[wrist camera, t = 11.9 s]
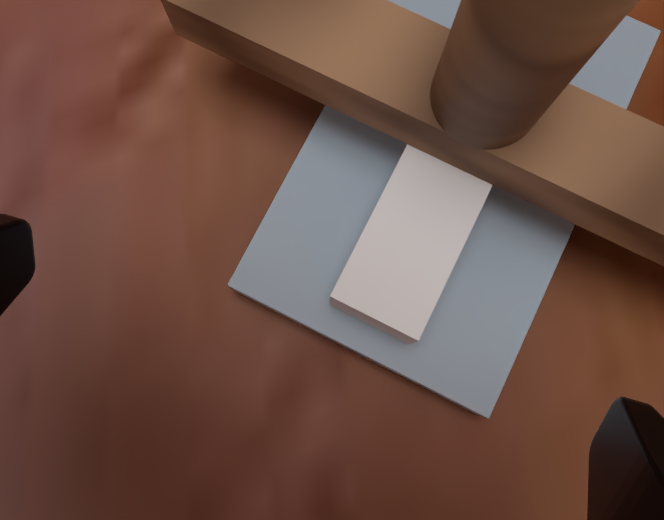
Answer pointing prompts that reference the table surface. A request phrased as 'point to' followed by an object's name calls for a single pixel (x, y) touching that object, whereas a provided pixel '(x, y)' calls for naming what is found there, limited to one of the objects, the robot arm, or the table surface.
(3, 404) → the table surface
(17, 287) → the robot arm
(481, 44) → the wooden bar with post
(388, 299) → the stand
